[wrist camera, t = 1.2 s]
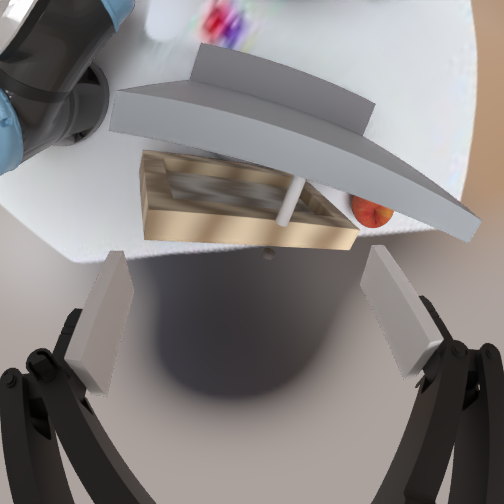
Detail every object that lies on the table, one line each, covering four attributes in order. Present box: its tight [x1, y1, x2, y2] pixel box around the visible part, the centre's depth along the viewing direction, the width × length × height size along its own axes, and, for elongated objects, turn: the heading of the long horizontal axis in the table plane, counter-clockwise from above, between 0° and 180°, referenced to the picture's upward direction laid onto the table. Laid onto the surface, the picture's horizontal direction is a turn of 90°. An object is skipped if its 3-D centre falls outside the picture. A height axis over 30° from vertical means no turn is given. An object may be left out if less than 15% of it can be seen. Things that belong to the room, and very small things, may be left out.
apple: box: [352, 195, 394, 228], centre depth 47 cm, size 7×7×8 cm
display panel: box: [109, 43, 482, 243], centre depth 29 cm, size 28×15×30 cm, turn 73°
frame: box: [139, 150, 360, 260], centre depth 34 cm, size 24×4×18 cm, turn 73°
